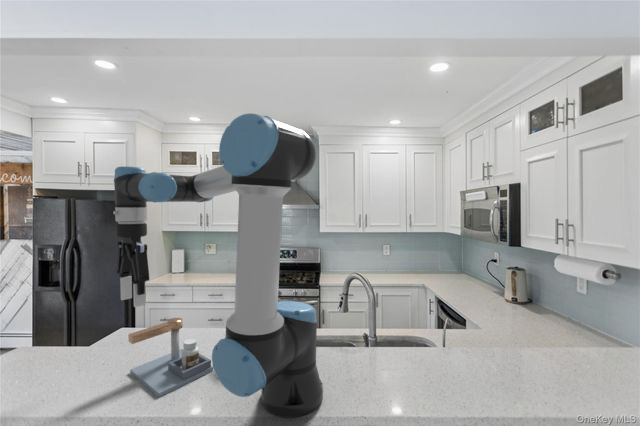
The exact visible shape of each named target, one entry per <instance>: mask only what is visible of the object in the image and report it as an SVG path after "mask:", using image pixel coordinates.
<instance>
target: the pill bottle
mask: <svg viewBox="0 0 640 426" xmlns="http://www.w3.org/2000/svg"><path fill="white" fill-rule="evenodd" d="M197 344H198V341H197V338H188V339H186V340H184V341H183V348H182V349H183V350H182V369H183V370H187V369H189V368H191V367H194V366H196V365H198V364H199V354H200V351H199V350H200V349H199V347H198V346H197Z"/></svg>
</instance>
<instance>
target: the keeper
mask: <svg viewBox="0 0 640 426" xmlns="http://www.w3.org/2000/svg"><path fill="white" fill-rule="evenodd" d="M182 328H183V318H182V317H174V318H170V319H168V320H167V321H165V322H163V323H159V324H156V325H154V326H150V327H147V328H144V329H140V330H138V331H133V332H130V333H128V342H129V343H130V344H131V345H134V344H137V343H139V342H144V341H146V340H148V339H151V338H154V337H157V336H161V335H163V334H166V333H169V332H170V333H171V331H175V330H179V331H180V330H181V329H182Z"/></svg>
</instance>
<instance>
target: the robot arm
mask: <svg viewBox="0 0 640 426" xmlns="http://www.w3.org/2000/svg"><path fill="white" fill-rule="evenodd" d="M219 142H220V143H219V149H218V153H219V154H218V155H219V161H220V163H221V164H222V165H220V166H218V167H215V168H212V169H209V170H205V171H203V172H200V173H197V174H194V175H176V174H169V173H164V172H155V171H154V172H147V171H146V169H145V168H143V167H138V166H117V167H116V168H115V169H114V177H113V183H114V185H113V187H114V204H115V205H114V206H115V207H114V209H115V210H114V211H113V215H114V216H115V218H114V219H115V222H116V224H115V228H114V229H115V237H116V238H121V239H122V240H118V241H117V258H116V259H117V260H116V261H117V262H116V274H118V276H119V279H120V280H119V281H120V282H119V283H120V300H121V301H124V300H129V299H130V300H131V299H132V298H133V307H134V308H138V307H141V306H146V305H147V304H146V301H147V300H146V282H148V281H150V271H149V261H148V244H146V243H145V244H143V243H142V238H143V237H146V236H147V235H148V225H147V223H146V221H147V220H148V208H147V202H149V203H169V202H170V203H175V202H178V203H179V202H180V203H181V202H193V203H194V202H195V203H204V202H205V203H206V202H209V201H210V202H211V200H213V198H215V197H218V196H221V195H225V194H229V193H233V192H237V193H238V212H237V213H238V215H237V240H236V262H235V263H236V266H235V286H234V287H235V291H234V292H235V293H234V310H233V311H234V312H233V313H232V314H230V315H229V316H228V318H227V319H226V321H225V337H224V338H221V339H220V340H218V342H217V343H216V344H215V345H214V346H213V349H212V353H211V364H212V366H213V371H214V373H215V375H216V378H217V379H218V380H219V382H220V383H221V385H222V386H223V387H224V388H225V389H226V390H227V391H228V392H229V393H231V394H232V395H235V396H237V397H240V398H241V397H242V398H243V397H244V398H246V397H250V396H253V395H254V394H255V393H256V392H258V391H260V390H261V403H262V405H263V407H264V408H265V410H266V411H267V412H269V413H271V414H273V415H275V416H278V417H281V418H297V417H303V416H305V415H308V414H310V413H312V412H314V411H315V410H317V409H318V407H319V406H320V405H321V403H322V402H323V398H324V388H323V387H324V386H323V382H322V380H321V379H320V375H319V371H318V367H317V333H318V332H317V328H318V327H317V324H318V320H317V311H316V308H315V307H313V305H311V304H308V303H306V302H302V301H301V302H300V301H291V300H290V301H288V300H282V301H279V284H280V282H279V281H280V266H281V265H280V263H281V244H282V243H281V242H282V227H283V226H282V224H283V205H284V204H283V203H284V196H286V194H288V192H290V191H291V190H292V181H297V180H301V179H303V178H304V177H306V176H307V175H308V174H309V173H311V171H312V169H313V167H314V165H315V162H316V159H317V152H316V147H315V143H314V141H313V140H312V139H311V137H310V136H309V135H308V134H307V133H306V132H305V131H304V130H303V129H301V128H298V127H295V126H292V125H289V124H286V123H284V122H282V121H278V120H276V119H273V118H272V117H270V116H267V115H261V114H256V113H249V112H248V113H244V114H241V115H239V116H237V117H236V118H234V119H233V120H232V121H230V124H229V125H228V126H227V127H226V128H225V129H224V131H223V133H222V136H221V139H220V141H219ZM132 277H134V281H132V280H133V279H132Z"/></svg>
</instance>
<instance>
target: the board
mask: <svg viewBox="0 0 640 426" xmlns="http://www.w3.org/2000/svg"><path fill="white" fill-rule="evenodd" d="M170 349H171V350H170V353H169V354H165V355H164V356H161V357H158V358H156V359H153V360H150V361H147V362H145V363H142V364H140V365H138V366H136V367H132V368H131V369H130V374H131V375H132V376H133V377H134V378H136V380H138V381H139V382H141V384H143V385H144V386H145V387H146V388H147V389H148V390H150V392H152V393H153V394H154V395H155V396H156V397H158V398H161V397H163V396H164V395H167V394H169V393H171V392H173V391H174V390H177V389H179V388H181V387H182V386H185V385H187V384H189V383H190V382H193V381H195V380H197V379H199V378H200V377H203V376H205V375H207V374H209V373H211V372H213V371H214V367H213V365H212V359H209V358H208V357H206V356H204V355H202V354H201V353H199V364H198V365H196V366H194V367H191V368H189V369H187V370H183V369H182V350H183V349H184V348H181V349H180V329H179V330H175V331H170Z"/></svg>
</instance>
